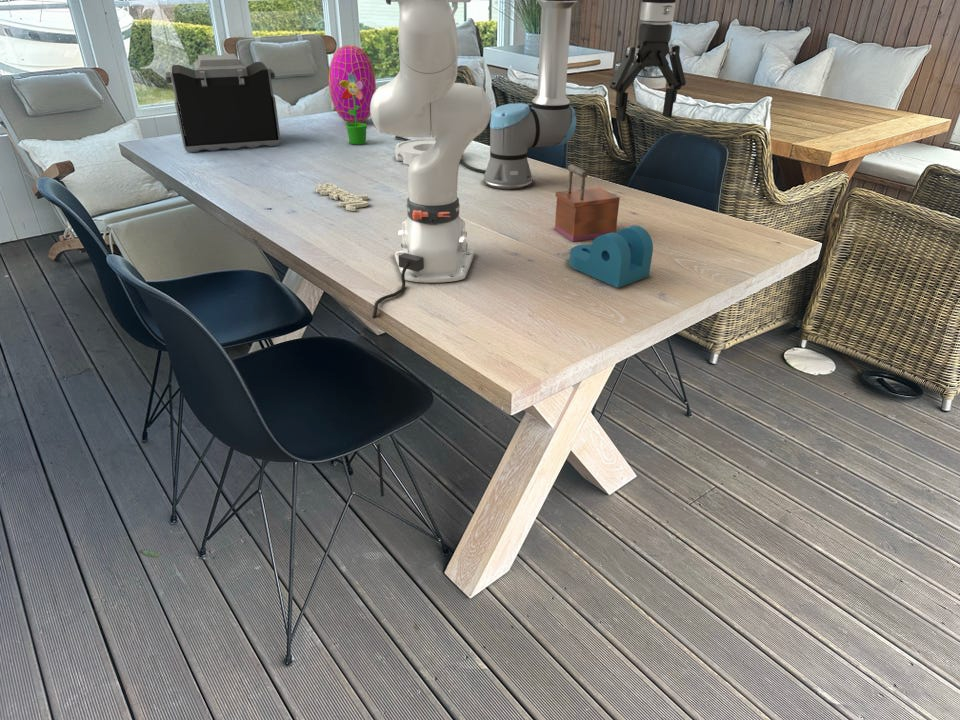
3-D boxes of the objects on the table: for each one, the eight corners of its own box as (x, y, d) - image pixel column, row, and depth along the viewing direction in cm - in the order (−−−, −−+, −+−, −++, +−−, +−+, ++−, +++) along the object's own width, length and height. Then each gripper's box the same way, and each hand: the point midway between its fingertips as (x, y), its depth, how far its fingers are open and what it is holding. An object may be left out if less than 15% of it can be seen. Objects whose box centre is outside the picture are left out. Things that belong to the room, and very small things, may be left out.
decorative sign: (381, 201, 196) (350, 208, 191) (381, 205, 197) (350, 211, 192) (338, 180, 214) (308, 186, 209) (338, 183, 215) (308, 189, 209)
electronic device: (278, 133, 274) (267, 51, 259) (285, 146, 256) (274, 59, 241) (180, 140, 262) (162, 54, 247) (180, 153, 244) (161, 62, 229)
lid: (574, 207, 169) (576, 174, 165) (555, 196, 177) (557, 164, 173) (619, 201, 174) (623, 168, 170) (599, 190, 181) (602, 159, 177)
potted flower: (342, 144, 260) (336, 73, 247) (351, 139, 266) (346, 70, 254) (365, 146, 257) (360, 74, 245) (374, 141, 264) (369, 71, 251)
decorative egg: (362, 116, 305) (357, 42, 290) (386, 123, 292) (382, 46, 277) (324, 121, 294) (316, 45, 279) (347, 129, 281) (340, 49, 266)
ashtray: (454, 167, 232) (454, 155, 230) (388, 164, 235) (387, 152, 233) (466, 151, 252) (466, 140, 250) (404, 148, 255) (404, 137, 253)
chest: (573, 241, 174) (575, 207, 169) (554, 229, 182) (556, 196, 177) (615, 235, 178) (619, 201, 174) (595, 223, 186) (599, 190, 182)
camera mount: (649, 276, 155) (655, 231, 150) (618, 287, 149) (623, 242, 144) (590, 252, 167) (594, 210, 162) (559, 262, 161) (562, 219, 156)
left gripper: (383, -44, 156) (386, 24, 163) (473, -43, 157) (472, 24, 164) (385, -44, 161) (388, 21, 168) (471, -43, 162) (471, 22, 169)
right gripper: (619, 25, 151) (608, 125, 162) (710, 23, 160) (694, 117, 171) (601, 22, 157) (592, 119, 168) (690, 20, 166) (676, 112, 177)
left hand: (430, 23), depth 166 cm, fingers open, 8 cm apart
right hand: (643, 118), depth 169 cm, fingers open, 13 cm apart
